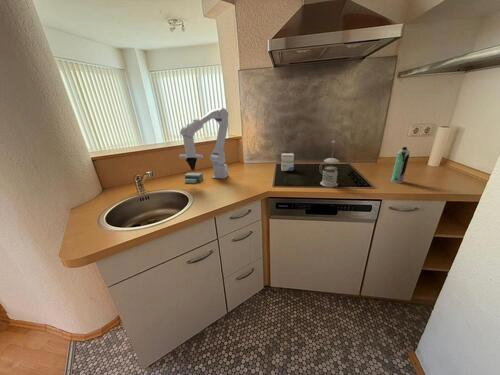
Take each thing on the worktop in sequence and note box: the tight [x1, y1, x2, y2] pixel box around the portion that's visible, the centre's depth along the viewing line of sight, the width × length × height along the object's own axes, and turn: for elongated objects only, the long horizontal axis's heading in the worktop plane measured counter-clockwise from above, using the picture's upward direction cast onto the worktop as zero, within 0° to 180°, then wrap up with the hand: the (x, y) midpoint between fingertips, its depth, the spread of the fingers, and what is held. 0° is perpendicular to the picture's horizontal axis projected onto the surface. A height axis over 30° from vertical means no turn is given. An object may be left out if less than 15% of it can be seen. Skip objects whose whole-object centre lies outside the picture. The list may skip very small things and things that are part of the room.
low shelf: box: [184, 172, 204, 183], centre depth 133 cm, size 10×5×4 cm, turn 77°
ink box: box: [280, 153, 295, 172], centre depth 145 cm, size 8×5×12 cm, turn 84°
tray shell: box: [184, 177, 199, 184], centre depth 132 cm, size 7×6×2 cm
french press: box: [319, 140, 340, 188], centre depth 115 cm, size 10×12×25 cm
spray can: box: [390, 146, 411, 184], centre depth 114 cm, size 6×6×20 cm
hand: (193, 169), depth 124 cm, fingers closed
